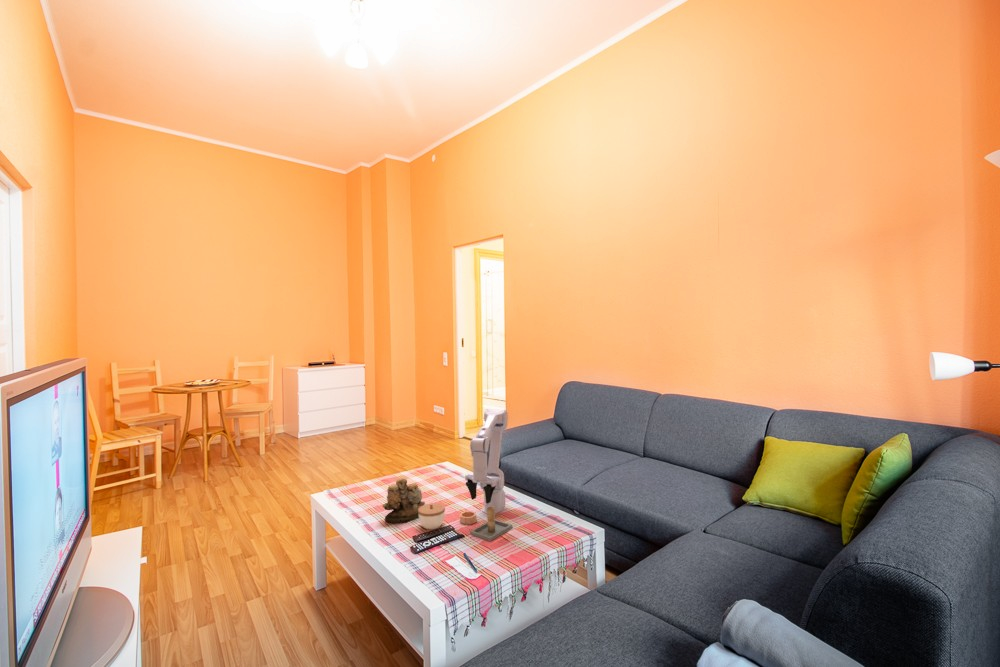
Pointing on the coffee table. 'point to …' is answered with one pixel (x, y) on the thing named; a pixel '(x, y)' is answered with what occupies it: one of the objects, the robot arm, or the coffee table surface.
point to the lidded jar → (431, 515)
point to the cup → (468, 517)
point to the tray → (484, 534)
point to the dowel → (491, 519)
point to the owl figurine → (403, 502)
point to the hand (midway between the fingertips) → (481, 500)
